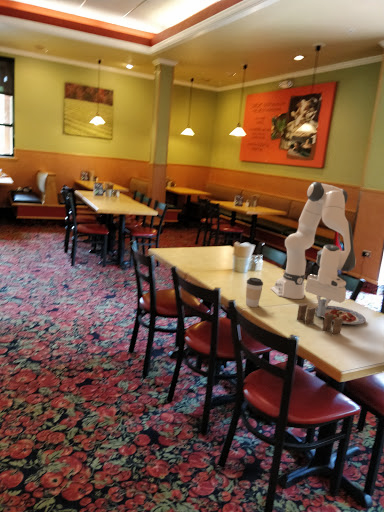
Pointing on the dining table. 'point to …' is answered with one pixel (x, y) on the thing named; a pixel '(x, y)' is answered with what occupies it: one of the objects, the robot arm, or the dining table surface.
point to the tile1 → (302, 312)
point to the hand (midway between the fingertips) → (322, 305)
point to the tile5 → (337, 326)
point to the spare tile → (321, 308)
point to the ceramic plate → (344, 315)
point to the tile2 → (310, 315)
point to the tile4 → (327, 322)
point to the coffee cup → (253, 291)
